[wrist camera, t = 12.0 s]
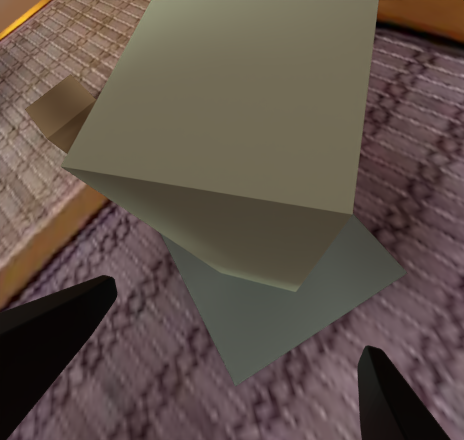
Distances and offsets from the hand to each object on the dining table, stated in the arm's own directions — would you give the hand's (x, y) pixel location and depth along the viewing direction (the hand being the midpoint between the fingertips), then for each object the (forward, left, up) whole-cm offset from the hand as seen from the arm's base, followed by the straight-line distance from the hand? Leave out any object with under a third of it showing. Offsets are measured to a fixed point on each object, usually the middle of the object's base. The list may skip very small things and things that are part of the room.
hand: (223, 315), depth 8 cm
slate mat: (+3, +3, -8) cm, 9 cm away
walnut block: (-5, +22, -8) cm, 24 cm away
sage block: (+3, +3, -7) cm, 9 cm away
